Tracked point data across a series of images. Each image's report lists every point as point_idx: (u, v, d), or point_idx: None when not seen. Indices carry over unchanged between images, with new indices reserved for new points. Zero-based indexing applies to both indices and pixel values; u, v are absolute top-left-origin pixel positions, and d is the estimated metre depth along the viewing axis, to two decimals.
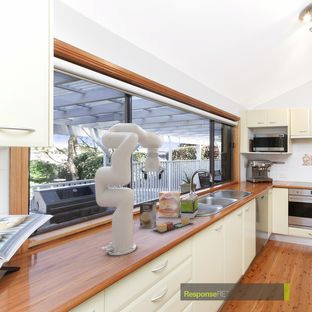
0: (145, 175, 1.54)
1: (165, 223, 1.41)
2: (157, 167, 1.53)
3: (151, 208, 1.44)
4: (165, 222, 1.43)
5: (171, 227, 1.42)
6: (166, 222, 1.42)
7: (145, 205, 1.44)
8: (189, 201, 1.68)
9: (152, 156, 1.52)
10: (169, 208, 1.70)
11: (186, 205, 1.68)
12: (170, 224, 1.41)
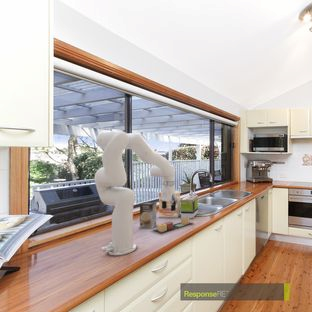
0: (162, 204, 1.44)
1: (165, 223, 1.41)
2: (169, 197, 1.38)
3: (151, 208, 1.44)
4: (165, 222, 1.43)
5: (171, 227, 1.42)
6: (166, 222, 1.42)
7: (145, 205, 1.44)
8: (189, 201, 1.68)
9: (164, 185, 1.39)
10: (169, 208, 1.70)
11: (186, 205, 1.68)
12: (170, 224, 1.41)
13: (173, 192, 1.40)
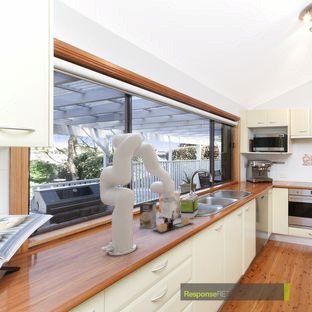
0: (164, 222, 1.42)
1: (165, 223, 1.41)
2: (169, 214, 1.38)
3: (151, 208, 1.44)
4: (165, 222, 1.43)
5: None
6: (166, 222, 1.42)
7: (145, 205, 1.44)
8: (189, 201, 1.68)
9: (164, 201, 1.39)
10: None
11: (186, 205, 1.68)
12: None
13: (173, 208, 1.39)
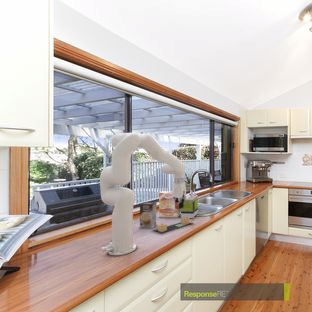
0: (175, 202, 1.49)
1: (176, 203, 1.48)
2: (179, 194, 1.44)
3: (151, 208, 1.44)
4: (176, 202, 1.49)
5: None
6: (177, 202, 1.49)
7: (145, 205, 1.44)
8: (189, 201, 1.68)
9: (175, 182, 1.46)
10: (169, 208, 1.70)
11: (186, 205, 1.68)
12: None
13: (184, 189, 1.46)
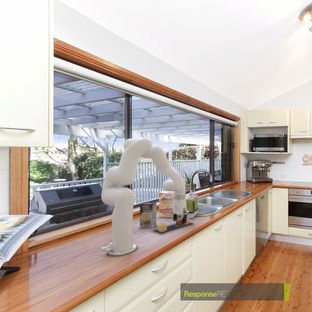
0: (173, 216, 1.51)
1: (177, 220, 1.48)
2: (180, 210, 1.45)
3: (151, 208, 1.44)
4: (176, 219, 1.50)
5: None
6: (177, 219, 1.50)
7: (145, 205, 1.44)
8: (189, 201, 1.68)
9: (176, 198, 1.46)
10: (169, 208, 1.70)
11: (186, 205, 1.68)
12: (181, 221, 1.48)
13: (184, 205, 1.46)
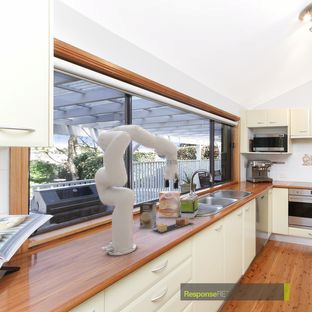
0: (165, 183, 1.49)
1: (177, 220, 1.48)
2: (172, 175, 1.43)
3: (151, 208, 1.44)
4: (176, 219, 1.50)
5: (182, 223, 1.49)
6: (177, 219, 1.50)
7: (145, 205, 1.44)
8: (189, 201, 1.68)
9: (167, 163, 1.44)
10: (169, 208, 1.70)
11: (186, 205, 1.68)
12: (181, 221, 1.48)
13: (176, 170, 1.45)
